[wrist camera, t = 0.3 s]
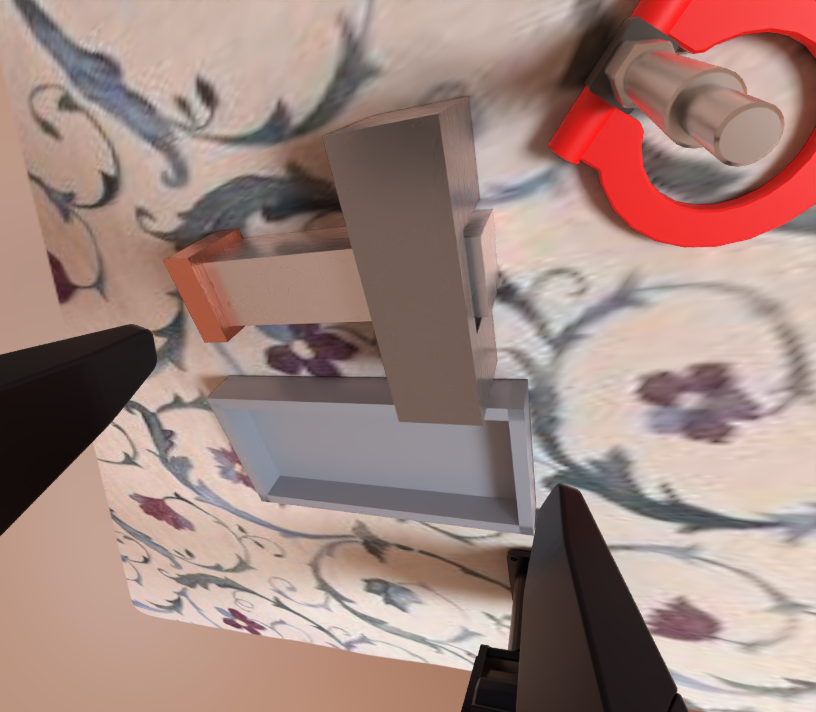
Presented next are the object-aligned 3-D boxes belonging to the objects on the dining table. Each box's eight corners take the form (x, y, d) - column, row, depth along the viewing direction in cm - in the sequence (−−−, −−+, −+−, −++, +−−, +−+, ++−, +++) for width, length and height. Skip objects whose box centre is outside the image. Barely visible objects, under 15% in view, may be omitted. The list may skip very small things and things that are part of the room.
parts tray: (535, 502, 29) (533, 535, 27) (278, 476, 36) (262, 501, 34) (527, 379, 24) (523, 409, 22) (229, 375, 31) (206, 398, 29)
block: (497, 360, 24) (482, 425, 20) (426, 360, 25) (398, 421, 21) (468, 95, 18) (438, 113, 14) (375, 115, 19) (321, 136, 15)
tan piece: (491, 196, 20) (476, 228, 16) (500, 292, 22) (488, 336, 19) (217, 230, 25) (162, 260, 21) (248, 305, 27) (204, 342, 24)
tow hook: (948, 61, 14) (702, -108, 13) (1986, 173, 4) (1202, -518, 3) (717, 272, 19) (531, 161, 18) (903, 551, 9) (511, 332, 8)
